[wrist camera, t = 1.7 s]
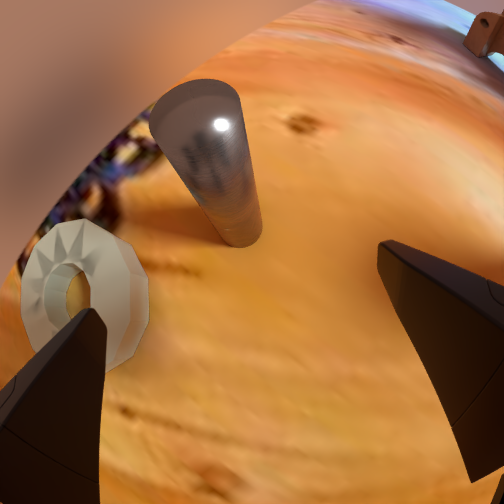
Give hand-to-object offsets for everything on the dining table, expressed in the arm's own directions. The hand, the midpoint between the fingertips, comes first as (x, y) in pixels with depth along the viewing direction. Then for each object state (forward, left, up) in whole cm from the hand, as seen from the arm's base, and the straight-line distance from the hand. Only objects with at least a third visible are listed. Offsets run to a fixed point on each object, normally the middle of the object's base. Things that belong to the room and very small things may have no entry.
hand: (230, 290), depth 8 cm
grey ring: (-6, +13, -12) cm, 19 cm away
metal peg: (+5, +4, -12) cm, 13 cm away
